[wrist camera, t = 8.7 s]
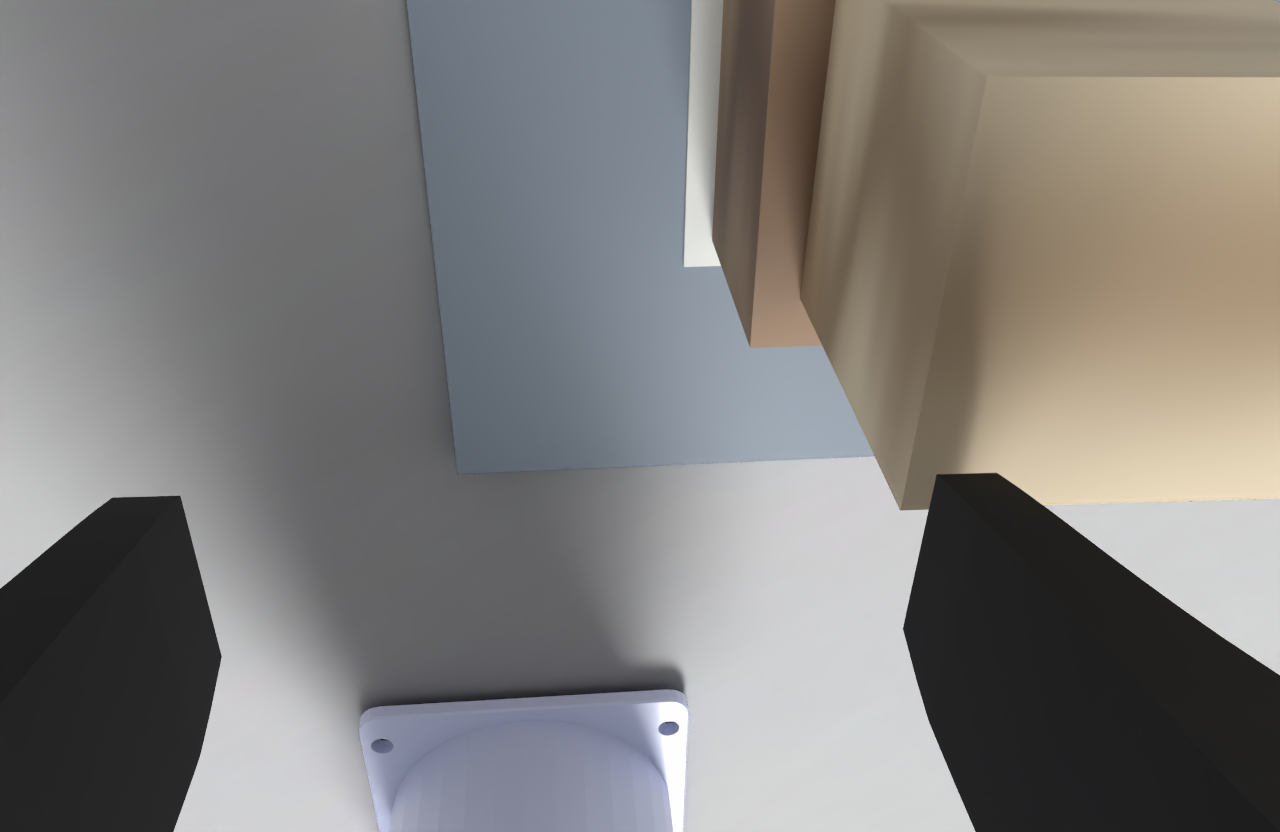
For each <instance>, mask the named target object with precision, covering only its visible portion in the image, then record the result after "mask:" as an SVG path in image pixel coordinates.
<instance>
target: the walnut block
mask: <svg viewBox="0 0 1280 832" xmlns="http://www.w3.org/2000/svg"><path fill="white" fill-rule="evenodd" d="M835 2H836V0H723V20H722V41H721V62H720V84H719V105H718V127H717V148H716V170H715V191H714V212H713V234H712V242H713V245H714V247H715V250H716V253H717V256H718V259H719V262H720V264H721V267H722V270H723V273H724V276H725V279H726V281H727V284H728V287H729V290H730V293H731V295H732V298H733V301H734V304H735V307H736V310H737V312H738V315H739V318H740V321H741V324H742V327H743V329H744V332H745V335H746V338H747V341H748V344H749V346H750V348H768V347H796V346H822V344H821V342H820V340H819V338H818V336H817V333H816V331H815V329H814V327H813V325H812V323H811V321H810V319H809V317H808V315H807V312H806V310H805V308H804V306H803V304H802V302H801V300H800V296H801V287H802V279H803V271H804V262H805V254H806V246H807V237H808V229H809V220H810V212H811V204H812V195H813V187H814V178H815V170H816V162H817V153H818V145H819V136H820V128H821V120H822V111H823V103H824V95H825V86H826V78H827V69H828V61H829V53H830V44H831V36H832V27H833V19H834V11H835Z"/></svg>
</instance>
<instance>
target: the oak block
mask: <svg viewBox="0 0 1280 832" xmlns="http://www.w3.org/2000/svg"><path fill="white" fill-rule="evenodd" d="M800 300H801V302H802V304H803V306H804V308H805V310H806V312H807V315H808V317H809V319H810V321H811V323H812V325H813V327H814V329H815V331H816V333H817V336H818V338H819V340H820V342H821V344H822V346H823V348H824V350H825V352H826V355H827V357H828V359H829V361H830V363H831V365H832V367H833V369H834V371H835V374H836V376H837V378H838V380H839V382H840V384H841V386H842V388H843V390H844V393H845V395H846V397H847V399H848V401H849V403H850V405H851V407H852V409H853V412H854V414H855V416H856V418H857V420H858V422H859V424H860V426H861V428H862V430H863V433H864V435H865V437H866V439H867V441H868V443H869V445H870V447H871V449H872V452H873V454H874V456H875V458H876V460H877V462H878V464H879V466H880V468H881V471H882V473H883V475H884V477H885V479H886V481H887V483H888V485H889V487H890V490H891V492H892V494H893V496H894V498H895V500H896V502H897V504H898V506H899V509H900V510H925V509H929V507H930V502H931V498H932V493H933V488H934V484H935V479H936V475H937V474H969V473H998V474H999V475H1001V476H1002V477H1004V478H1005V479H1007V480H1008V481H1010V482H1011V483H1013V484H1014V485H1016V486H1017V487H1018V488H1020V489H1021V490H1023V491H1024V492H1025V493H1027V494H1028V495H1030V496H1031V497H1032V498H1034V499H1035V500H1036V501H1038V502H1039V503H1040V504H1042V505H1043V506H1051V505H1082V504H1113V503H1145V502H1176V501H1207V500H1239V499H1270V498H1280V3H1279V2H1277V1H1274V0H836V2H835V11H834V19H833V27H832V36H831V44H830V53H829V61H828V69H827V78H826V86H825V95H824V103H823V111H822V120H821V128H820V136H819V145H818V153H817V162H816V170H815V178H814V187H813V195H812V204H811V212H810V220H809V229H808V237H807V246H806V254H805V262H804V271H803V279H802V287H801V296H800Z"/></svg>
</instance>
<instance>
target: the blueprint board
mask: <svg viewBox="0 0 1280 832" xmlns="http://www.w3.org/2000/svg"><path fill="white" fill-rule="evenodd" d="M1274 1H1277V2H1279V3H1280V0H1274ZM406 2H407V11H408V21H409V30H410V39H411V49H412V58H413V67H414V77H415V86H416V95H417V104H418V114H419V123H420V132H421V142H422V151H423V160H424V169H425V179H426V188H427V197H428V207H429V216H430V225H431V234H432V244H433V253H434V262H435V272H436V281H437V290H438V300H439V309H440V318H441V327H442V337H443V346H444V355H445V365H446V374H447V383H448V392H449V402H450V411H451V420H452V430H453V439H454V448H455V458H456V467H457V474H478V473H501V472H524V471H547V470H570V469H593V468H616V467H639V466H662V465H685V464H708V463H731V462H754V461H777V460H800V459H823V458H846V457H869V456H874V454H873V452H872V449H871V447H870V445H869V443H868V441H867V439H866V437H865V435H864V433H863V430H862V428H861V426H860V424H859V422H858V420H857V418H856V416H855V414H854V412H853V409H852V407H851V405H850V403H849V401H848V399H847V397H846V395H845V393H844V390H843V388H842V386H841V384H840V382H839V380H838V378H837V376H836V374H835V371H834V369H833V367H832V365H831V363H830V361H829V359H828V357H827V355H826V352H825V350H824V348H823V346H796V347H768V348H750V346H749V344H748V341H747V338H746V335H745V332H744V329H743V327H742V324H741V321H740V318H739V315H738V312H737V310H736V307H735V304H734V301H733V298H732V295H731V293H730V290H729V287H728V284H727V281H726V279H725V276H724V273H723V270H722V267H721V264H720V262H719V259H718V256H717V253H716V250H715V247H714V245H713V242H712V234H713V212H714V191H715V170H716V148H717V127H718V105H719V84H720V62H721V41H722V20H723V0H406Z"/></svg>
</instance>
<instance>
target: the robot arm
mask: <svg viewBox="0 0 1280 832" xmlns="http://www.w3.org/2000/svg"><path fill="white" fill-rule="evenodd" d="M903 630H904V634H905V638H906V641H907V645H908V649H909V653H910V657H911V660H912V664H913V668H914V672H915V675H916V679H917V683H918V686H919V689H920V693H921V696H922V700H923V703H924V706H925V710H926V713H927V716H928V720H929V722H930V725H931V727H932V730H933V732H934V735H935V737H936V739H937V742H938V744H939V747H940V749H941V751H942V754H943V756H944V759H945V761H946V763H947V766H948V768H949V770H950V773H951V775H952V778H953V780H954V782H955V785H956V787H957V789H958V792H959V794H960V796H961V799H962V801H963V803H964V806H965V808H966V810H967V813H968V815H969V817H970V820H971V822H972V824H973V827H974V829H975V831H976V832H1280V675H1278V674H1277V673H1275V672H1274V671H1272V670H1271V669H1269V668H1268V667H1266V666H1265V665H1263V664H1262V663H1260V662H1259V661H1257V660H1256V659H1254V658H1253V657H1251V656H1250V655H1248V654H1247V653H1245V652H1244V651H1242V650H1241V649H1239V648H1238V647H1236V646H1235V645H1233V644H1232V643H1230V642H1228V641H1227V640H1225V639H1224V638H1222V637H1221V636H1220V635H1218V634H1217V633H1215V632H1214V631H1212V630H1211V629H1210V628H1208V627H1207V626H1205V625H1204V624H1202V623H1201V622H1200V621H1198V620H1197V619H1195V618H1194V617H1192V616H1191V615H1190V614H1188V613H1187V612H1185V611H1184V610H1183V609H1181V608H1180V607H1178V606H1177V605H1176V604H1174V603H1173V602H1171V601H1170V600H1169V599H1167V598H1166V597H1164V596H1163V595H1162V594H1160V593H1159V592H1158V591H1156V590H1155V589H1154V588H1152V587H1151V586H1149V585H1148V584H1147V583H1145V582H1144V581H1143V580H1141V579H1140V578H1139V577H1137V576H1136V575H1134V574H1133V573H1132V572H1130V571H1129V570H1128V569H1126V568H1125V567H1124V566H1122V565H1121V564H1120V563H1118V562H1117V561H1116V560H1114V559H1113V558H1112V557H1110V556H1109V555H1108V554H1106V553H1105V552H1104V551H1103V550H1101V549H1100V548H1099V547H1097V546H1096V545H1095V544H1093V543H1092V542H1091V541H1089V540H1088V539H1087V538H1085V537H1084V536H1083V535H1081V534H1080V533H1079V532H1077V531H1076V530H1075V529H1074V528H1072V527H1071V526H1070V525H1068V524H1067V523H1066V522H1064V521H1063V520H1062V519H1060V518H1059V517H1058V516H1056V515H1055V514H1054V513H1052V512H1051V511H1050V510H1048V509H1047V508H1046V507H1044V506H1043V505H1042V504H1040V503H1039V502H1038V501H1036V500H1035V499H1034V498H1032V497H1031V496H1030V495H1028V494H1027V493H1025V492H1024V491H1023V490H1021V489H1020V488H1018V487H1017V486H1016V485H1014V484H1013V483H1011V482H1010V481H1008V480H1007V479H1005V478H1004V477H1002V476H1001V475H999V474H998V473H969V474H937V475H936V479H935V484H934V488H933V493H932V498H931V502H930V507H929V512H928V516H927V521H926V525H925V530H924V535H923V539H922V544H921V548H920V553H919V558H918V562H917V567H916V572H915V576H914V581H913V585H912V590H911V595H910V599H909V604H908V608H907V613H906V618H905V622H904V627H903ZM221 657H222V656H221V653H220V649H219V645H218V641H217V637H216V633H215V629H214V625H213V621H212V618H211V614H210V610H209V606H208V602H207V598H206V594H205V590H204V586H203V583H202V579H201V575H200V571H199V567H198V563H197V559H196V555H195V551H194V548H193V544H192V540H191V536H190V532H189V528H188V524H187V520H186V517H185V513H184V509H183V505H182V501H181V497H180V496H158V497H122V498H111V499H110V500H109V501H107V502H106V503H105V504H103V505H102V506H101V507H99V508H98V509H97V510H95V511H94V512H93V513H92V514H90V515H89V516H88V517H86V518H85V519H84V520H83V521H81V522H80V523H79V524H78V525H77V526H75V527H74V528H73V529H72V530H70V531H69V532H68V533H67V534H66V535H64V536H63V537H62V538H61V539H60V540H58V541H57V542H56V543H55V544H54V545H52V546H51V547H50V548H49V549H48V550H46V551H45V552H44V553H43V554H42V555H40V556H39V557H38V558H37V559H36V560H34V561H33V562H32V563H31V564H30V565H28V566H27V567H26V568H25V569H24V570H22V571H21V572H20V573H19V574H18V575H17V576H15V577H14V578H13V579H12V580H11V581H9V582H8V583H7V584H6V585H4V586H3V587H2V588H1V589H0V832H173V831H174V828H175V825H176V823H177V820H178V817H179V814H180V811H181V809H182V806H183V803H184V800H185V797H186V795H187V792H188V789H189V786H190V783H191V780H192V778H193V775H194V772H195V769H196V766H197V763H198V760H199V757H200V754H201V749H202V745H203V741H204V736H205V732H206V728H207V724H208V719H209V715H210V711H211V706H212V701H213V696H214V691H215V686H216V681H217V676H218V671H219V667H220V662H221ZM667 721H673V722H670V723H663V722H667ZM688 727H689V707H688V701H687V697H686V696H685V695H684V694H683V693H682V692H679V691H677V690H670V689H665V690H648V691H632V692H615V693H598V694H581V695H564V696H547V697H530V698H514V699H497V700H480V701H463V702H446V703H429V704H412V705H395V706H379V707H374V708H370V709H369V710H367V711H365V712H364V713H363V715H362V716H361V719H360V725H359V736H360V741H361V746H362V750H363V755H364V760H365V765H366V770H367V775H368V780H369V785H370V790H371V795H372V800H373V805H374V810H375V814H376V819H377V824H378V829H379V832H684V815H685V793H686V771H687V749H688ZM379 739H387V740H386V741H385V740H379Z"/></svg>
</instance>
